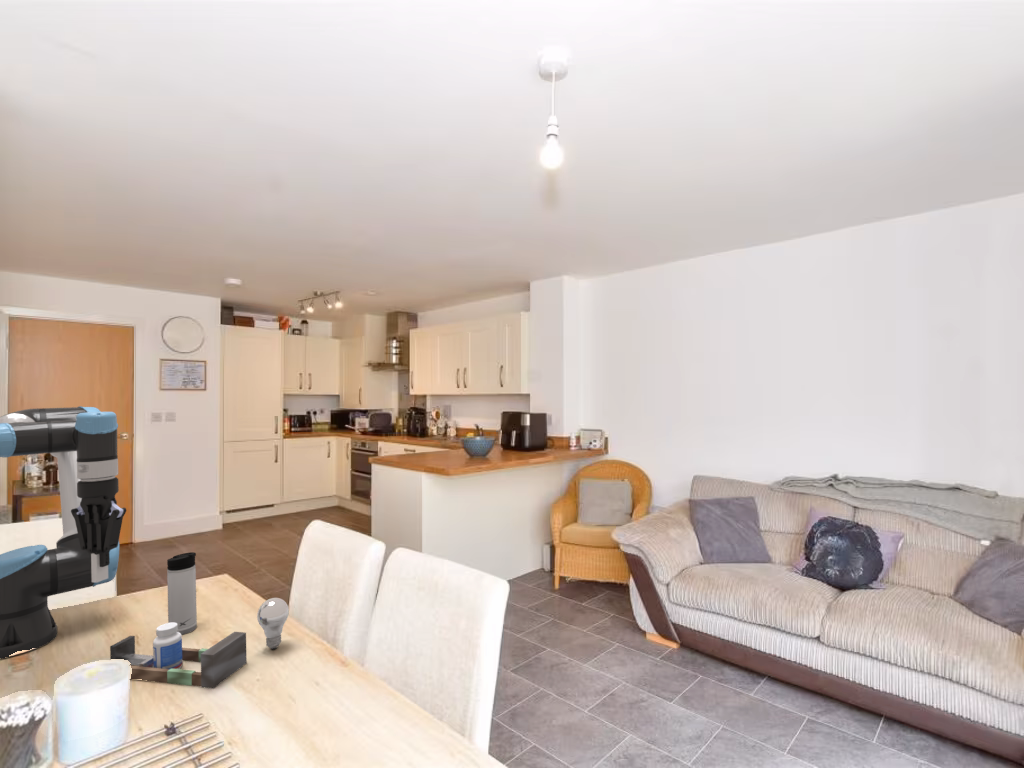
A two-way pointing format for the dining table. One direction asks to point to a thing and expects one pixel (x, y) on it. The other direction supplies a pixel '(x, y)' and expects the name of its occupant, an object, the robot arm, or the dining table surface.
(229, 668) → the frame
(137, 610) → the dining table surface
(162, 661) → the pill bottle
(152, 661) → the grey u-channel bracket
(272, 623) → the light bulb
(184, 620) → the travel mug
